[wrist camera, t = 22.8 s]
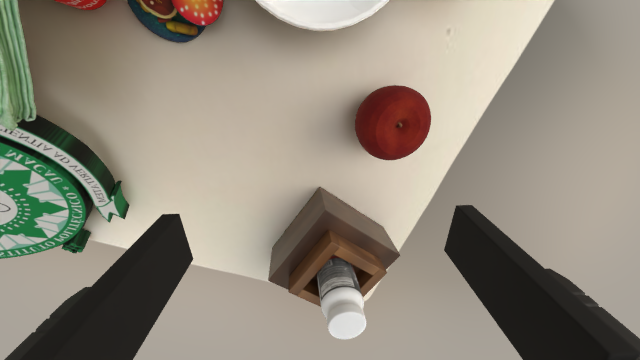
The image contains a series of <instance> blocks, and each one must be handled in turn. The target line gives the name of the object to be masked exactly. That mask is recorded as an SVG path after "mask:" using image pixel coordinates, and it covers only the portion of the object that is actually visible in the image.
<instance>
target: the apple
mask: <svg viewBox="0 0 640 360" xmlns="http://www.w3.org/2000/svg"><path fill="white" fill-rule="evenodd" d="M430 125H431V114H430V109H429V106H428V103H427V101H426V100H425V98H424V97H423V96H422V95H421V94H420V93H418V92H417V91H415V90H413V89H411V88H409V87H406V86H396V85H394V86H386V87H383V88H380V89H377V90H376V91H374V92H372V93H371V94H370V95H369V96H367V97H366V98H365V100H364V101H363V102H362V103H361V105H360V107H359V109H358V112H357V114H356V119H355V130H356V134H357V137H358V139H359V142H360V144H361V145H362V146H363V148H364V149H365V150H366V151H367V152H368V153H369V154H371V155H372V156H374V157H376V158H379V159H383V160H396V159H401V158H403V157H406V156H408V155H410V154H411V153H413V152H414V151H415V150H417V149H418V148H419V147H420V146H421V145H422V143H423V142H424V140H425V139H426V137H427V135H428V132H429V129H430Z"/></svg>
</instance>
